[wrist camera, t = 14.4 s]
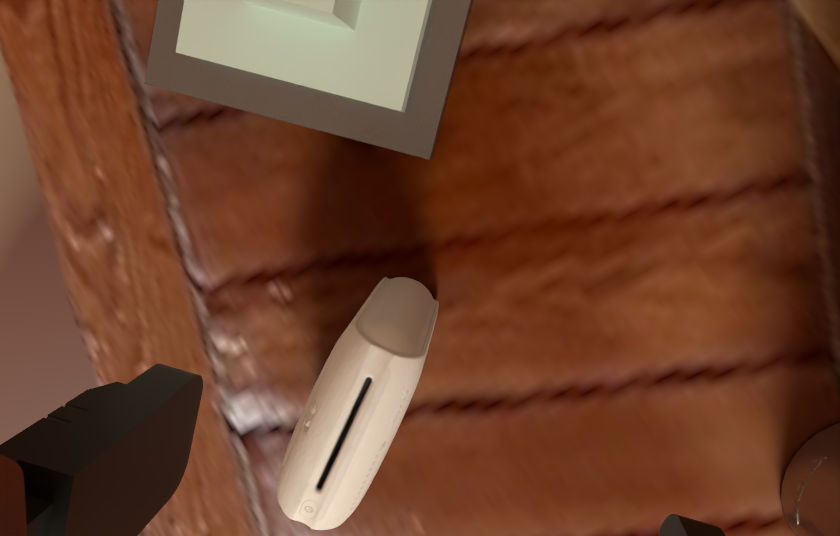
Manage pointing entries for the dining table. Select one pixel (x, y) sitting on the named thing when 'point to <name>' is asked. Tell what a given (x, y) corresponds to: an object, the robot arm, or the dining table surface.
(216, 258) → the dining table surface
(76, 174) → the dining table surface
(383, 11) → the flange plate
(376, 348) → the photo printer
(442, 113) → the post fixture
